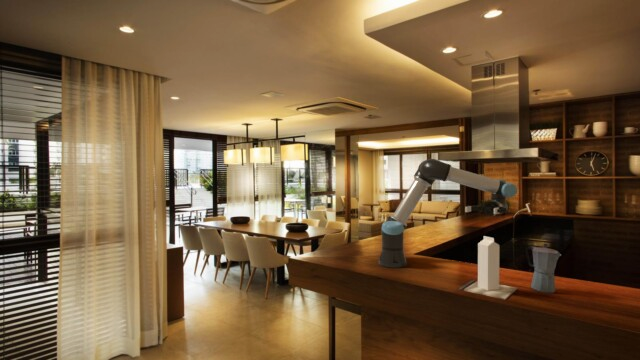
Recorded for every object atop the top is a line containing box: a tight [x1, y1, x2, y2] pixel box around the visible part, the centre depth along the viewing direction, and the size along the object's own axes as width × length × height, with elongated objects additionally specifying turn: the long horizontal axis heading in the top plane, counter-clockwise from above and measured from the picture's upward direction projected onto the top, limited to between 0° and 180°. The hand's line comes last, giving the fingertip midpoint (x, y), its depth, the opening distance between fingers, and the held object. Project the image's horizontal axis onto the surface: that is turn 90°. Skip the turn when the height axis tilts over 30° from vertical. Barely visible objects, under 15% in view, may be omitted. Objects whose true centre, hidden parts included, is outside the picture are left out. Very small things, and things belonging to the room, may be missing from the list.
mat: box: [457, 279, 518, 300], centre depth 151 cm, size 19×18×1 cm
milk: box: [477, 235, 500, 291], centre depth 150 cm, size 6×6×22 cm
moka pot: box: [525, 243, 562, 294], centre depth 151 cm, size 10×15×20 cm, turn 28°
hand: (479, 210), depth 174 cm, fingers open, 13 cm apart
